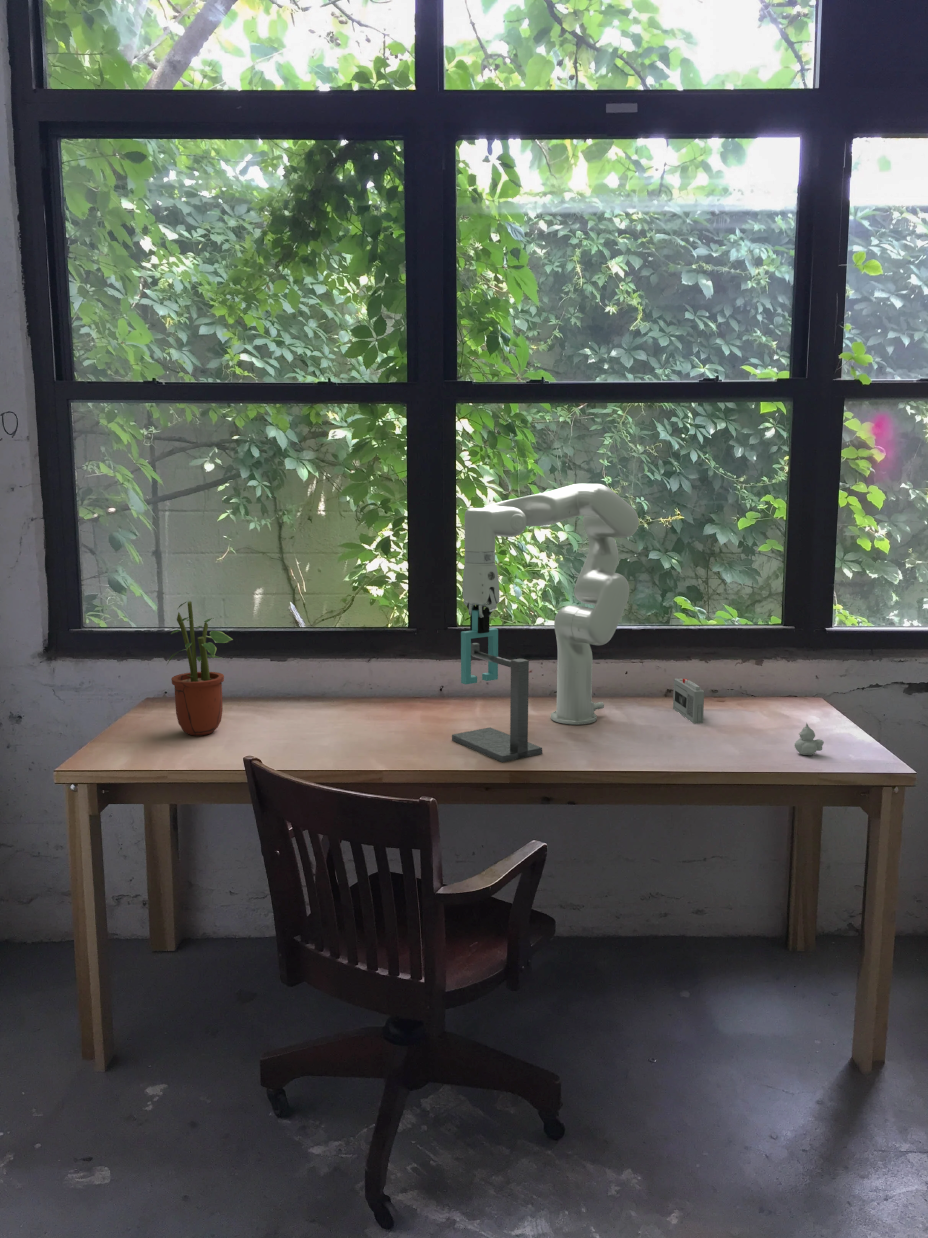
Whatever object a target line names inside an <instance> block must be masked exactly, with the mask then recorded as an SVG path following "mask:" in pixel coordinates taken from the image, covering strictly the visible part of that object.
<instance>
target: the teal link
mask: <svg viewBox="0 0 928 1238" xmlns="http://www.w3.org/2000/svg"><path fill="white" fill-rule="evenodd" d="M478 617H480V616H479V610H472V631H470V630H466V631H465V630H464V631H460V683H461V684H463V685H471V684H477V683H478V676H477V675H474V674H472V655H471V643H472V639H477V638H478V639H479V638H487V640H488V641H487V643H488V644H487V645H488V646H487V648H488V649H487V650H488V651H487V652H488V653H487V654H489V655H493V656H496V657H499V628H496V627H489V632H488V633H478ZM487 664H488V665H487V672H482V673H481V680H483V681H485V682H489V681H495V680H499V664H497V663H494V662H490V661H487Z"/></svg>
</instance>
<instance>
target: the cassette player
mask: <svg viewBox="0 0 928 1238" xmlns="http://www.w3.org/2000/svg"><path fill="white" fill-rule="evenodd" d="M672 697H673V698H672V710H674V711H675V712H676V713H678V712H679V713H680V715H681V716H682V717H684V718H685V717H686V718H687V720H688V721H689V720H690V721H689V722H691V723H692V724H703V723H704V710H705V709H704V708H705V706H704V705H705V704H704V703H705V691H704V690H703V689H702V688H701V686H699V685H698V684H696V683H695V682H693V681H691V680H689V679H687V678H674V679H673V696H672ZM679 713H678V714H679ZM686 718H685V719H686Z"/></svg>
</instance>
